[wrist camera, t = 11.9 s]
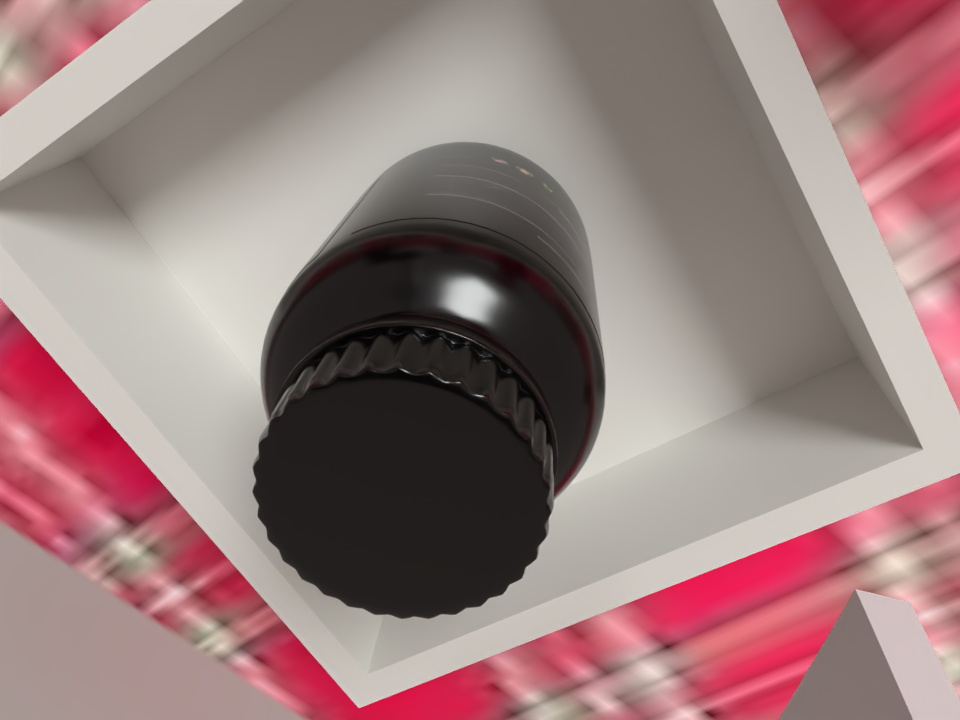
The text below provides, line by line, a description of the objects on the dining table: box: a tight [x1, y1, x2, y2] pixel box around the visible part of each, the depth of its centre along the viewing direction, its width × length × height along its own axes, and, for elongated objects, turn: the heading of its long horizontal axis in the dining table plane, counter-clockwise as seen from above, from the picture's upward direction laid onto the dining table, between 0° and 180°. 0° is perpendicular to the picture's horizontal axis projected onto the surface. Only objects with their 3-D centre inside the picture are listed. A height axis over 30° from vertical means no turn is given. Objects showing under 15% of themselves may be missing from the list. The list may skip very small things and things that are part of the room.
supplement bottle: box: [252, 142, 606, 619], centre depth 19 cm, size 7×7×12 cm
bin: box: [0, 0, 960, 708], centre depth 22 cm, size 18×18×6 cm
